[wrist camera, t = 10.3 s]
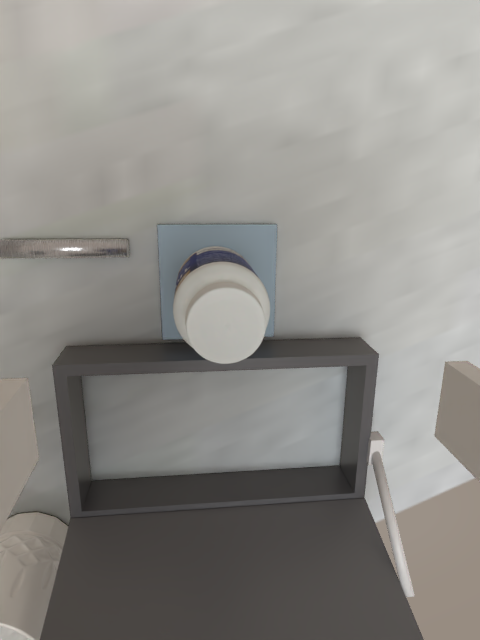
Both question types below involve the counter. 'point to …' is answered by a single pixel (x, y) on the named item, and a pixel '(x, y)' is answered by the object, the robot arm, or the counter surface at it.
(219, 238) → the mat
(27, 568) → the white cup
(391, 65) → the counter surface
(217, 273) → the pill bottle
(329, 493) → the case
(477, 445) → the robot arm
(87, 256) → the rod
